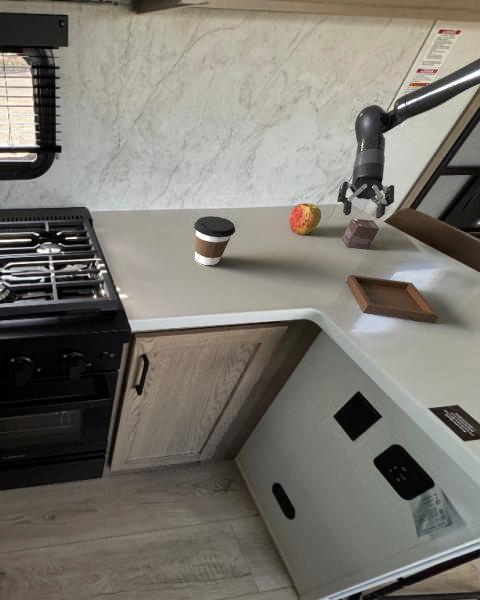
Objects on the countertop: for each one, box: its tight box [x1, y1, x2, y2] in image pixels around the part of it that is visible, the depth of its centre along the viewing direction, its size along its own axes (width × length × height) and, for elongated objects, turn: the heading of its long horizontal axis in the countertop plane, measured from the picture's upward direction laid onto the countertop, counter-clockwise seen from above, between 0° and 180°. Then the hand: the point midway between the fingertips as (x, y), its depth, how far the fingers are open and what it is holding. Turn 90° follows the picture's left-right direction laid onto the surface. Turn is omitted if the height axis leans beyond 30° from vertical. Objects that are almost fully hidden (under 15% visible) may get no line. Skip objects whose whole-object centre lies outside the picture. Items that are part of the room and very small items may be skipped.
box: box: [341, 218, 380, 250], centre depth 108 cm, size 6×6×7 cm
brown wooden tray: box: [345, 274, 440, 324], centre depth 85 cm, size 14×14×2 cm
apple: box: [288, 202, 322, 236], centre depth 114 cm, size 9×9×10 cm
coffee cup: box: [193, 215, 236, 266], centre depth 99 cm, size 11×11×12 cm
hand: (363, 215), depth 107 cm, fingers open, 8 cm apart
